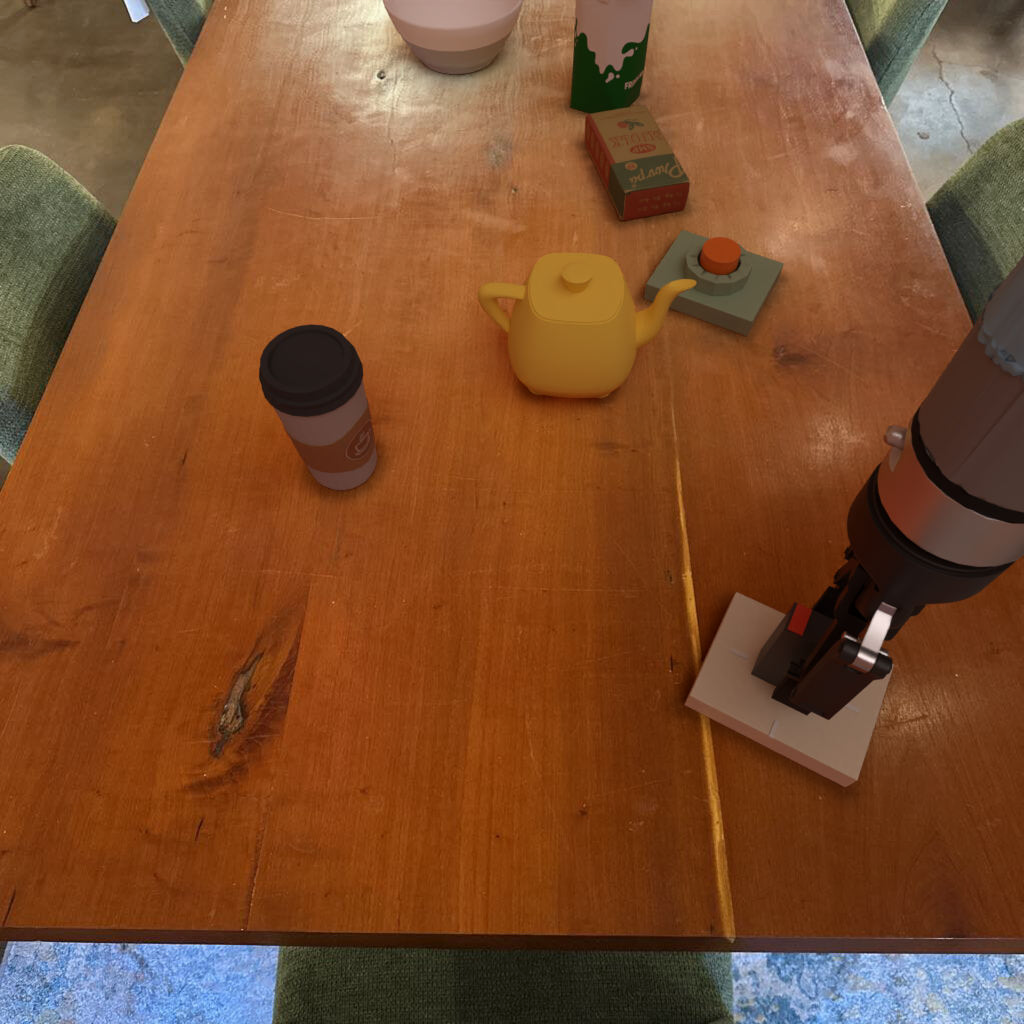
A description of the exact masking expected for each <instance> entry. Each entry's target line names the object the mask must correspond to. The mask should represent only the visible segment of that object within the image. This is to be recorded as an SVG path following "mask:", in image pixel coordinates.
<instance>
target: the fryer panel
mask: <svg viewBox="0 0 1024 1024" xmlns="http://www.w3.org/2000/svg"><path fill="white" fill-rule="evenodd" d="M786 614H787V613H784V612H781V611H779V610H777V609H775V608H773V607H770V606H768V605H766V604H764V603H762V602H760V601H757V600H756V599H753V598H751V597H749V596H746V595H745V594H742V593H740V592H738V591H736V592H735V593H734V594H733V596H732V598H731V600H730V602H729V604H728V606H727V609H726V610H725V613H724V615H723V618H722V620H721V622H720V624H719V626H718V628H717V631H716V633H715V635H714V637H713V639H712V641H711V644H710V645H709V648H708V650H707V653H706V655H705V657H704V660H703V661H702V664H701V666H700V667H699V671H698V672H697V674H696V677H695V679H694V681H693V684H692V686H691V689H690V690H689V693H688V694H687V698H686V699H685V702H684V704H683V705H684V706H685V707H687V708H690V709H691V710H694V711H695V712H697V713H699V714H701V715H703V716H705V717H706V718H709V719H711V720H713V721H714V722H717V723H718V724H721V725H723V726H725V727H727V728H728V729H730V730H732V731H734V732H736V733H738V734H740V735H742V736H744V737H746V738H748V739H750V740H752V741H754V742H755V743H758V744H759V745H762V746H764V747H766V748H767V749H769V750H772V751H773V752H775V753H777V754H779V755H781V756H783V757H785V758H787V759H789V760H791V761H793V762H795V763H796V764H798V765H801V766H802V767H804V768H806V769H808V770H810V771H812V772H814V773H816V774H818V775H820V776H822V777H824V778H826V779H828V780H829V781H832V782H834V783H836V784H838V785H839V786H842V787H843V788H846V787H849V786H851V785H852V784H854V783H855V782H857V781H858V780H859V777H860V774H861V771H862V768H863V765H864V761H865V758H866V755H867V753H868V749H869V745H870V742H871V739H872V736H873V733H874V730H875V727H876V723H877V720H878V717H879V714H880V711H881V707H882V704H883V702H884V698H885V695H886V692H887V689H888V685H889V683H890V679H891V678H892V673H893V670H894V667H895V664H894V663H893V664H892V669H891V672H890V673H889V674H887V675H886V676H885V678H883V679H880V680H874V681H872V682H871V683H870V684H869V685H868V686H867V687H866V688H865V689H863V690H862V691H861V692H860V693H859V694H858V695H857V696H856V697H854V698H853V699H852V700H851V701H850V702H849V703H848V704H847V705H846V706H844V707H843V708H842V709H841V710H840V711H839V712H838V713H837V714H835V715H834V716H833V717H832V718H831V719H830V720H827V719H825V718H823V717H821V716H819V715H817V714H815V713H813V712H811V713H810V714H808V715H805V714H802V713H800V712H798V711H796V710H794V709H792V708H790V707H788V706H786V705H784V704H782V703H780V702H778V701H776V700H774V699H772V698H771V697H772V694H773V691H774V689H775V688H776V686H774V685H772V684H770V683H768V682H766V681H764V680H762V679H759V678H757V677H755V676H753V675H751V672H752V670H753V668H754V665H755V663H756V660H757V658H758V656H759V653H760V651H761V649H762V647H763V646H764V644H765V643H766V642H767V640H768V639H769V638H770V636H771V635H772V633H773V632H774V631H775V629H776V628H777V626H778V625H779V624H780V622H781V621H782V619H783V618H784V617H785V615H786Z"/></svg>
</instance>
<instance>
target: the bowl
mask: <svg viewBox="0 0 1024 1024" xmlns="http://www.w3.org/2000/svg"><path fill="white" fill-rule="evenodd" d="M382 3H383V6H384V8H385V11H386V12H387V15H388V17H389V19H390V21H391V23H392V25H393V27H394V29H395V30H396V32H397V34H399V36H400V38H402V40H403V41H404V43H405V44H406V45H407V46H408V47H409V48H410V51H412V53H413V54H414V55H415V56H416V57H417V58H418V59H419V60H421V62H422V63H423V64H424V65H425V66H426V67H427V68H429V69H431V70H433V71H434V72H438V73H442V74H447V75H465V74H471V73H474V72H478V71H480V70H483V69H485V68H486V67H488V66H489V65H491V64H492V63H493V61H495V58H496V57H497V55H498V54H500V52H502V50H503V48H504V47H505V45H506V42H507V41H508V39H509V38H510V36H511V34H512V32H513V30H514V28H515V26H516V25H517V22H518V19H519V16H520V13H521V10H522V7H523V3H524V0H382Z"/></svg>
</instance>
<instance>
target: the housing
mask: <svg viewBox="0 0 1024 1024" xmlns="http://www.w3.org/2000/svg"><path fill="white" fill-rule="evenodd" d="M709 239H710V238H709V237H706V236H703V235H700V234H697V233H694V232H691V231H688V230H685V229H681V231H680V232H679V234H678V235H677V236H676V238H675V240H674V241H673V242H672V244H671V245H670V247H669V248H668V250H667V252H666V253H665V255H664V256H663V258H662V259H661V260H660V262H659V263H658V265H657V267H656V268H655V269H654V271H653V272H652V274H651V276H650V277H649V278H648V280H647V281H646V283H645V287H644V294H643V300H646V301H649V302H651V303H653V302H654V300H655V297H656V295H657V293H658V292H659V290H660V289H661V288H662V287H663V286H665V285H666V284H668V283H669V282H672V281H675V280H681V279H692V280H695V281H696V282H697V283H696V285H695V286H694V287H692V288H690V289H688V290H686V291H684V292H682V293H680V294H679V295H678V296H677V297H676V298H675V299H674V300H673V301H672V303H671V305H670V307H669V309H671V310H674V311H676V312H679V313H682V314H684V315H686V316H689V317H693V318H696V319H698V320H701V321H704V322H706V323H708V324H711V325H714V326H717V327H720V328H722V329H725V330H729V331H731V332H734V333H737V334H740V335H742V336H744V337H748V336H749V334H750V332H751V330H752V329H753V327H754V325H755V323H756V322H757V319H758V317H759V316H760V314H761V312H762V311H763V309H764V306H765V305H766V303H767V301H768V300H769V297H770V295H771V293H772V292H773V290H774V288H775V286H776V284H777V282H778V281H779V279H780V276H781V273H782V270H783V268H784V265H785V263H783V262H781V261H778V260H776V259H773V258H770V257H766V256H763V255H760V254H757V253H754V252H751V251H748V250H746V249H745V247H743V246H742V245H741V244H739V243H738V242H736V243H737V244H738V245H739V246H740V249H741V255H740V258H739V262H738V265H737V268H736V269H735V270H734V271H733V272H732V273H730V274H727V275H715V274H712V273H709V272H707V271H705V270H704V269H703V268H702V266H701V264H700V256H701V252H702V248H703V245H704V243H705V242H706V241H707V240H709Z"/></svg>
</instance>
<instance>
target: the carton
mask: <svg viewBox="0 0 1024 1024" xmlns="http://www.w3.org/2000/svg"><path fill="white" fill-rule="evenodd" d="M584 145H585V147H586V150H587V151H588V154H589V155H590V158H591V161H592V162H593V164H594V167H595V168H596V171H597V173H598V175H599V177H600V179H601V181H602V183H603V185H604V188H605V190H606V192H607V194H608V196H609V198H610V200H611V203H612V205H613V207H614V210H615V212H616V214H617V217H618V219H619V220H620V221H621V222H623V221H624V222H625V221H629V220H636V219H641V218H648V217H653V216H658V215H664V214H668V213H673V212H674V213H675V212H680V211H683V210H685V209H686V205H687V203H688V202H687V201H688V198H689V192H690V187H691V182H690V179H689V177H688V175H687V173H686V171H685V170H684V168H683V166H682V165H681V163H680V161H679V159H678V157H677V156H676V154H675V153H674V151H673V150H672V148H671V146H670V144H669V143H668V141H667V139H666V137H665V135H664V134H663V132H662V130H661V129H660V127H659V125H658V123H657V121H656V120H655V117H654V116H653V115H652V113H651V111H650V109H649V108H648V105H645V104H644V105H636V106H630V107H628V108H621V109H615V110H609V111H604V112H598V113H592V114H591V113H587V114H585V120H584Z"/></svg>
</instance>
